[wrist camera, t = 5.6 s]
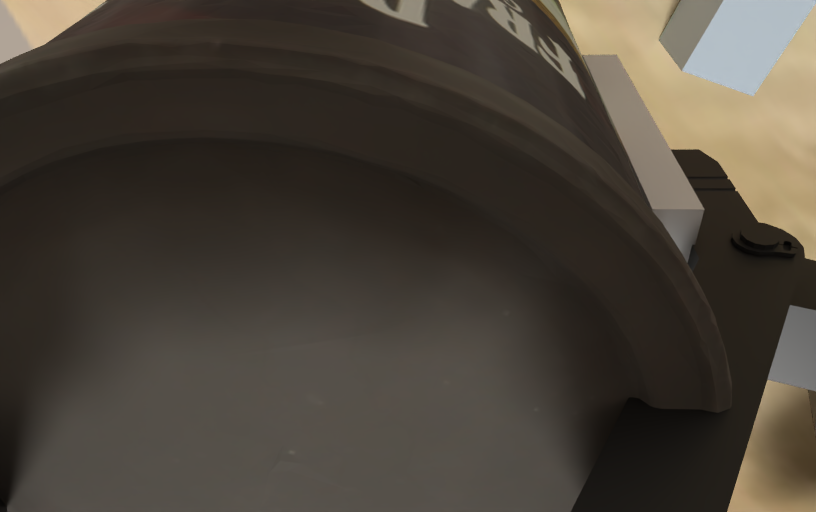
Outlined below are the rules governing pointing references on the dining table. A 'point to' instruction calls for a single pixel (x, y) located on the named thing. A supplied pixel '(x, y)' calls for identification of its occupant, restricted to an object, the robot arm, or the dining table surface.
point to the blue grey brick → (732, 38)
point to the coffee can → (326, 263)
